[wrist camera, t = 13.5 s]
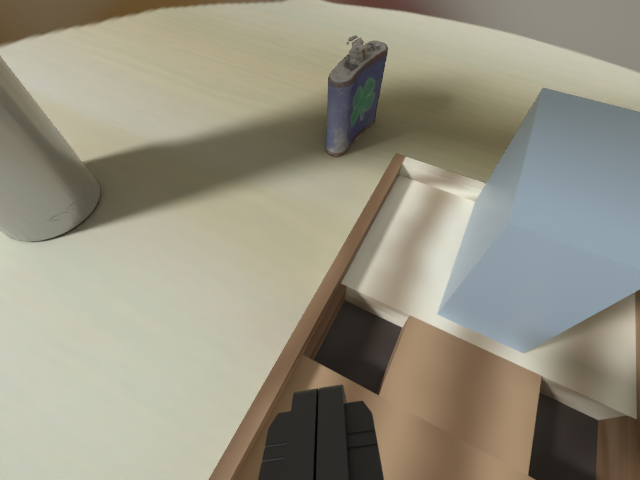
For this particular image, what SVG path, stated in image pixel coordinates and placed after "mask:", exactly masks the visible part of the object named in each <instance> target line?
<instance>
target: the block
mask: <svg viewBox="0 0 640 480" xmlns="http://www.w3.org/2000/svg"><path fill="white" fill-rule="evenodd" d="M638 290H640V112H637V111H633V110H629V109H625V108H621V107H617V106H614V105H610V104H606V103H602V102H598V101H594V100H590V99H586V98H582V97H578V96H574V95H570V94H566V93H562V92H558V91H554V90H550V89H546V88H542V90H541V92H540V93H539V95H538V97H537V98H536V100H535V102H534V103H533V105H532V107H531V108H530V110H529V112H528V113H527V115H526V117H525V119H524V120H523V122H522V124H521V125H520V127H519V129H518V130H517V132H516V134H515V135H514V137H513V139H512V140H511V142H510V144H509V146H508V147H507V149H506V151H505V152H504V154H503V156H502V157H501V159H500V161H499V162H498V164H497V166H496V167H495V169H494V171H493V173H492V174H491V176H490V178H489V179H488V181H487V183H486V184H485V186H484V188H483V189H482V191H481V193H480V195H479V196H478V198H477V200H476V201H475V204H474V207H473V209H472V212H471V215H470V218H469V221H468V224H467V227H466V230H465V233H464V236H463V239H462V242H461V245H460V248H459V251H458V254H457V257H456V260H455V263H454V266H453V268H452V271H451V274H450V277H449V280H448V283H447V286H446V289H445V292H444V295H443V298H442V301H441V304H440V307H439V310H438V313H437V315H439V316H441V317H444V318H446V319H448V320H450V321H453V322H455V323H457V324H459V325H461V326H464V327H466V328H468V329H470V330H472V331H475V332H477V333H479V334H481V335H484V336H486V337H488V338H490V339H492V340H495V341H497V342H499V343H501V344H503V345H506V346H508V347H510V348H512V349H515V350H517V351H519V352H521V353H523V354H524V353H525V352H527V351H529V350H531V349H533V348H534V347H536V346H538V345H540V344H542V343H544V342H545V341H547V340H549V339H551V338H553V337H554V336H556V335H558V334H560V333H562V332H563V331H565V330H567V329H569V328H571V327H573V326H574V325H576V324H578V323H580V322H582V321H583V320H585V319H587V318H589V317H591V316H593V315H594V314H596V313H598V312H600V311H602V310H603V309H605V308H607V307H609V306H611V305H612V304H614V303H616V302H618V301H620V300H622V299H623V298H625V297H627V296H629V295H631V294H632V293H634V292H636V291H638Z"/></svg>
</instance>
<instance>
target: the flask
mask: <svg viewBox="0 0 640 480" xmlns="http://www.w3.org/2000/svg"><path fill="white" fill-rule="evenodd" d="M355 38H358V37H357V36H356V35H355V36H352V37H350V38H349V40H348V41H352V40H354V39H355ZM363 43H364V42H363V40H362V39H361V38H359V39H357V40H356V41H354V42H352V48H351V50H350V51H349V55H347V56H346V57H345V58H344V59H343V60H342V61H341V62H339V63H338V65H337V66H336V67H335V68H334V69H333V70H332V72H331V73H330V75H329V77H328V109H327V132H326V150H327V152H328V151H329V152H328V154H329V155H333V156H336V157H338V156H339V155H342V154H344V153H345V152H347V151H348V150H349V149H348V148H349V147H350V146H351V145H352V144H353V143H355V142H356V141H358V139H359V136H360V134H361V133H364V132H365V129H367V128H370V126H371V125H372V124H373V123H375V116H376V109H377V105H378V99H379V95H380V89H381V83H382V78H383V72H384V68H385V62H386V57H387V51H388V47H387V45H386V44H385V43H382V42H379V41H370V42H368V43H367V44H365V45H363ZM348 44H349V42H347V45H348Z"/></svg>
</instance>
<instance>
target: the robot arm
mask: <svg viewBox="0 0 640 480" xmlns="http://www.w3.org/2000/svg"><path fill="white" fill-rule="evenodd" d="M99 198H100V186H99V184H98V182H97V180H96V179H95V178H94V176H93V175H92V174H91V173H90V171H89V170H88V169H87V167H86V166H85V165H84V164H83V162H82V161H81V160H80V158H79V157H78V156H77V155H76V153H75V152H74V150H73V149H72V148H71V146H70V145H69V144H68V143H67V141H66V140H65V139H64V137H63V136H62V135H61V134H60V132H59V131H58V130H57V128H56V127H55V126H54V125H53V123H52V122H51V121H50V119H49V118H48V117H47V116H46V114H45V113H44V112H43V110H42V109H41V108H40V107H39V105H38V104H37V103H36V101H35V100H34V99H33V98H32V96H31V95H30V94H29V92H28V91H27V90H26V88H25V87H24V86H23V85H22V83H21V82H20V81H19V79H18V78H17V77H16V76H15V74H14V73H13V72H12V70H11V69H10V68H9V67H8V65H7V64H6V63H5V61H4V60H3V59H2V58H1V56H0V231H1V232H3V233H4V234H5V235H7V236H9V237H10V238H12V239H16V240H19V241H30V242H32V241H41V240H45V239H49V238H53V237H56V236H58V235H61V234H63V233H65V232H67V231H69V230H71V229H72V228H74V227H76V226H77V225H78V224H80V223H81V222H82V221H84V220H85V219H86V218H87V217H88V216H89V215H90V214H91V213H92V211H93V210H94V208H95V207H96V205H97V203H98V201H99ZM258 480H384V476H383V470H382V465H381V459H380V453H379V448H378V442H377V437H376V431H375V426H374V420H373V415H372V412H371V411H370V410H369V408H368V407H367V406H366V404H365V403H364V402H363V401H356V402H349V403H347V401H346V396H345V391H344V386H343V384H342V385H335V386H329V387H322V388H319V389H318V388H316V389H309V390H303V391H296V392H294V393H293V399H292V406H291V411H288V412H282V413H278V414H277V416H276V417H275V419H274V420H273V422H272V424H271V425H270V427H269V428H268V433H267V438H266V443H265V449H264V453H263V458H262V463H261V467H260V472H259V477H258Z"/></svg>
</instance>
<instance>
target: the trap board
mask: <svg viewBox="0 0 640 480" xmlns="http://www.w3.org/2000/svg"><path fill="white" fill-rule="evenodd" d="M485 184H486V183H483V182H480V181H477V180H474V179H471V178H468V177H465V176H462V175H459V174H456V173H453V172H450V171H447V170H444V169H441V168H438V167H435V166H433V165H430V164H427V163H424V162H421V161H418V160H415V159H412V158H409V157H406V156H403V155H400V154H397V153H396V154H395V156H394V157H393V159H392V161H391V163H390V164H389V166H388V168H387V169H386V171H385V173H384V175H383V176H382V178H381V180H380V182H379V183H378V185H377V187H376V189H375V190H374V192H373V194H372V196H371V197H370V199H369V201H368V203H367V204H366V206H365V208H364V210H363V211H362V213H361V215H360V217H359V218H358V220H357V222H356V224H355V225H354V227H353V229H352V231H351V232H350V234H349V236H348V238H347V239H346V241H345V243H344V244H343V246H342V248H341V250H340V251H339V253H338V255H337V257H336V258H335V260H334V262H333V264H332V265H331V267H330V269H329V271H328V272H327V274H326V276H325V278H324V279H323V281H322V283H321V285H320V286H319V288H318V290H317V292H316V293H315V295H314V297H313V299H312V300H311V302H310V304H309V306H308V307H307V309H306V311H305V313H304V314H303V316H302V318H301V319H300V321H299V323H298V325H297V326H296V328H295V330H294V332H293V333H292V335H291V337H290V339H289V340H288V342H287V344H286V346H285V347H284V349H283V351H282V353H281V354H280V356H279V358H278V360H277V361H276V363H275V365H274V367H273V368H272V370H271V372H270V374H269V375H268V377H267V379H266V381H265V382H264V384H263V386H262V388H261V389H260V391H259V393H258V394H257V396H256V398H255V400H254V401H253V403H252V405H251V407H250V408H249V410H248V412H247V414H246V415H245V417H244V419H243V421H242V422H241V424H240V426H239V428H238V429H237V431H236V433H235V435H234V436H233V438H232V440H231V442H230V443H229V445H228V447H227V449H226V450H225V452H224V454H223V456H222V457H221V459H220V461H219V463H218V464H217V466H216V468H215V469H214V471H213V473H212V475H211V476H210V478H209V480H258V477H259V472H260V467H261V463H262V458H263V453H264V449H265V443H266V438H267V433H268V428H269V427H270V425H271V424H272V422H273V420H274V419H275V417H276V416H277V414H278V413H282V412H288V411H291V406H292V399H293V393H294V392H296V391H303V390H309V389H316V388H318V389H319V388H322V387H329V386H335V385H342V384H343V386H344V391H345V396H346V401H347V403H349V402H356V401H363V402H364V403H365V404H366V406H367V407H368V408H369V410H370V411H371V412H372V415H373V420H374V426H375V431H376V437H377V442H378V448H379V453H380V459H381V465H382V470H383V476H384V480H640V290H638V291H636V292H634V293H632V294H631V295H629V296H627V297H625V298H623V299H622V300H620V301H618V302H616V303H614V304H612V305H611V306H609V307H607V308H605V309H603V310H602V311H600V312H598V313H596V314H594V315H593V316H591V317H589V318H587V319H585V320H583V321H582V322H580V323H578V324H576V325H574V326H573V327H571V328H569V329H567V330H565V331H563V332H562V333H560V334H558V335H556V336H554V337H553V338H551V339H549V340H547V341H545V342H544V343H542V344H540V345H538V346H536V347H534V348H533V349H531V350H529V351H527V352H525V353H524V354H523V353H521V352H519V351H517V350H515V349H512V348H510V347H508V346H506V345H503V344H501V343H499V342H497V341H495V340H492V339H490V338H488V337H486V336H484V335H481V334H479V333H477V332H475V331H472V330H470V329H468V328H466V327H464V326H461V325H459V324H457V323H455V322H453V321H450V320H448V319H446V318H444V317H441V316H439V315H437V313H438V310H439V307H440V304H441V301H442V298H443V295H444V292H445V289H446V286H447V283H448V280H449V277H450V274H451V271H452V268H453V266H454V263H455V260H456V257H457V254H458V251H459V248H460V245H461V242H462V239H463V236H464V233H465V230H466V227H467V224H468V221H469V218H470V215H471V212H472V209H473V207H474V204H475V201H476V200H477V198H478V196H479V195H480V193H481V191H482V189H483V188H484V186H485Z"/></svg>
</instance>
